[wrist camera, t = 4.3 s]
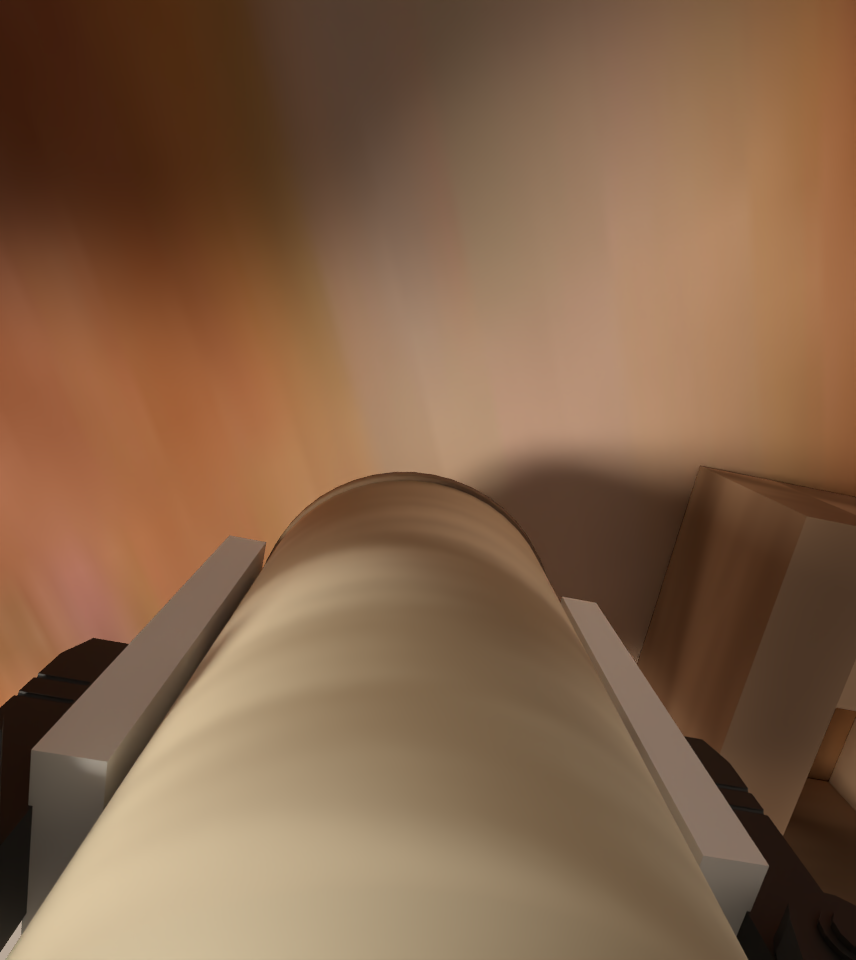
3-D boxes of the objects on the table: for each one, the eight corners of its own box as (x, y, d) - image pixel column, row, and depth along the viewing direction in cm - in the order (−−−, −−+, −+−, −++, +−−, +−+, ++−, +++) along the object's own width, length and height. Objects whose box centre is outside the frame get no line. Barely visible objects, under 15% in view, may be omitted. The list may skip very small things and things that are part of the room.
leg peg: (285, 619, 19) (-120, 1501, 5) (318, 415, 17) (-135, 796, 3) (488, 654, 19) (688, 1564, 5) (538, 459, 18) (1023, 971, 3)
